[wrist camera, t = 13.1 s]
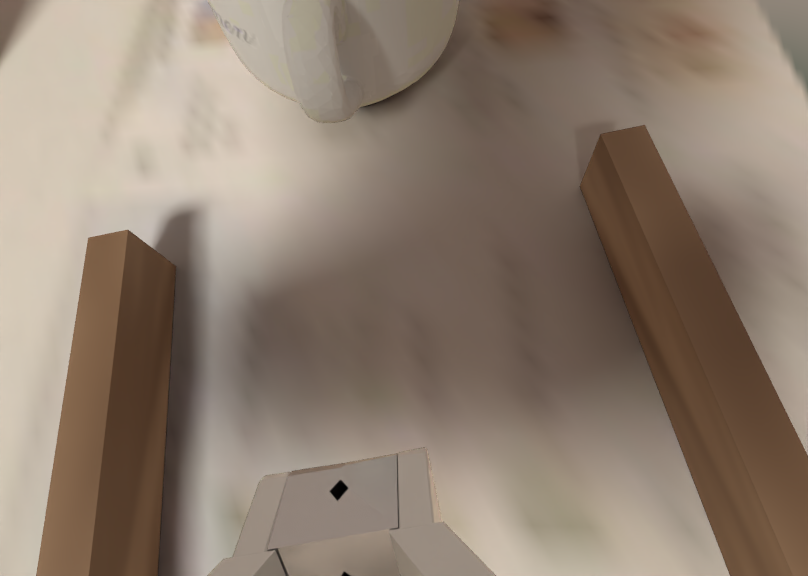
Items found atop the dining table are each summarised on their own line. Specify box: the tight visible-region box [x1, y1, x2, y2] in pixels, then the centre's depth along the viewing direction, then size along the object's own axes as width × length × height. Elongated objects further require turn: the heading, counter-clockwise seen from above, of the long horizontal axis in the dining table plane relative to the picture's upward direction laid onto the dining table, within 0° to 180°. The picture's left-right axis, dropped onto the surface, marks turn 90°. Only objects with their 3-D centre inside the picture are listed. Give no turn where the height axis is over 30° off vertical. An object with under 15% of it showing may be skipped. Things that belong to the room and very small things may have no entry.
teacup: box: [207, 0, 459, 123], centre depth 18 cm, size 14×11×8 cm
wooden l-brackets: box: [36, 125, 808, 576], centre depth 13 cm, size 20×20×3 cm
